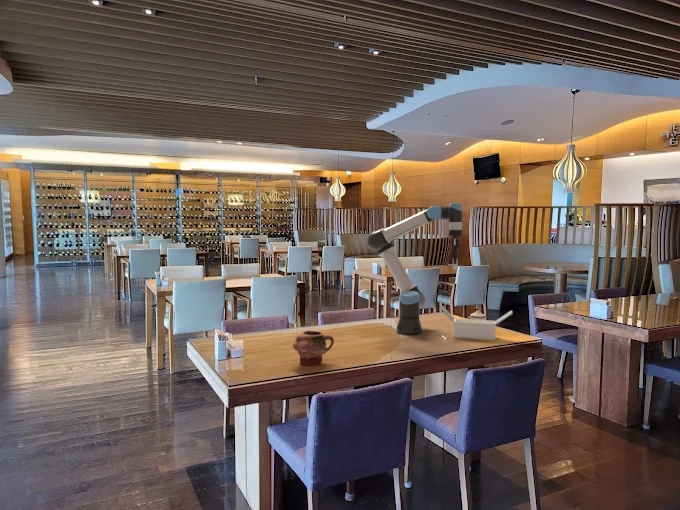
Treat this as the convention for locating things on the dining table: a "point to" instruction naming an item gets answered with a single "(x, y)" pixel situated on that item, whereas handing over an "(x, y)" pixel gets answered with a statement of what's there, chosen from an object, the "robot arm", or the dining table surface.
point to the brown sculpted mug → (312, 347)
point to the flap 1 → (447, 313)
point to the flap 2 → (504, 317)
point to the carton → (475, 329)
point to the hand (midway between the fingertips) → (455, 269)
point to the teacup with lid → (477, 316)
